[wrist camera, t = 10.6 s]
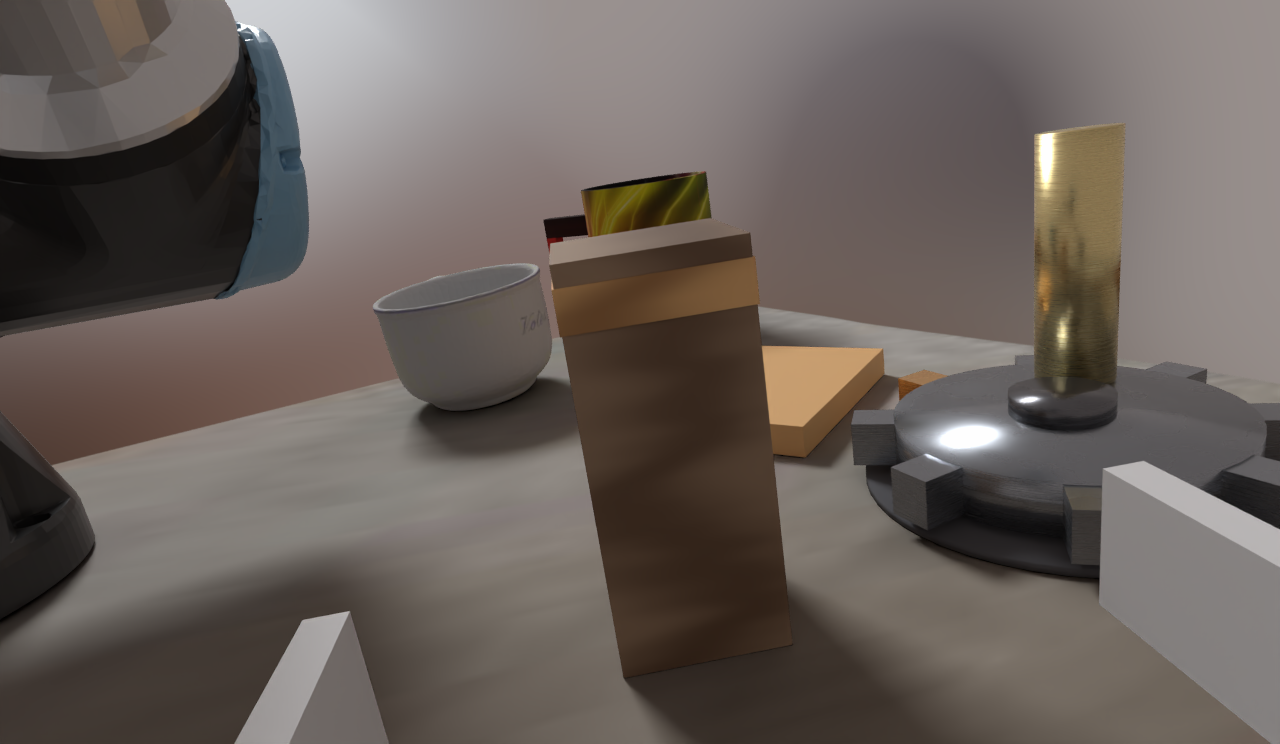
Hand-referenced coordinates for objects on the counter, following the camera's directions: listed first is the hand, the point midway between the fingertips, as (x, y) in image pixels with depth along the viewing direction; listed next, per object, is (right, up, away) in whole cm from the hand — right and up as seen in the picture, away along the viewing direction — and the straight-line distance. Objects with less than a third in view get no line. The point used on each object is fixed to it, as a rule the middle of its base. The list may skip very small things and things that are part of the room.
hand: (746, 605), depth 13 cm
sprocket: (+14, 0, +16) cm, 22 cm away
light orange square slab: (+4, +2, +29) cm, 30 cm away
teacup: (-13, +3, +40) cm, 42 cm away
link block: (0, -4, +11) cm, 12 cm away
